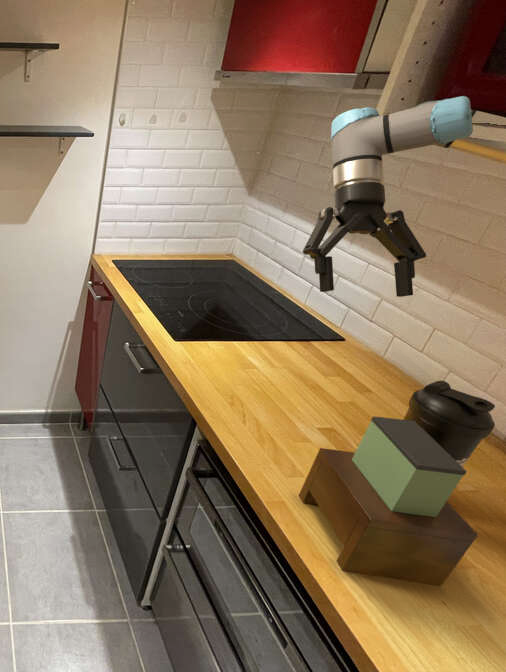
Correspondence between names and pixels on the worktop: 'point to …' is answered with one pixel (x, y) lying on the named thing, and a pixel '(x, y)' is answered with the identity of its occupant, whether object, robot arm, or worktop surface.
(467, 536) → the walnut shelf
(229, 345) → the worktop surface
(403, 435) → the box
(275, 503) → the worktop surface
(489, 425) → the water bottle
